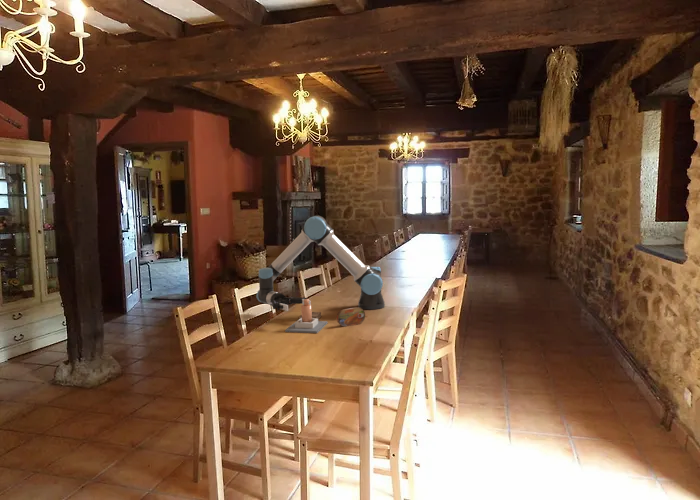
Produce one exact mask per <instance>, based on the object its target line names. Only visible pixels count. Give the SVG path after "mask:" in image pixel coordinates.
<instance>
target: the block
mask: <svg viewBox="0 0 700 500" xmlns="http://www.w3.org/2000/svg"><path fill="white" fill-rule="evenodd" d="M321 317H322V312H321V311H312V318H316V319H318V320H319V319H320V318H321ZM300 318H302V313H300V315H299V319H300Z"/></svg>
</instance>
